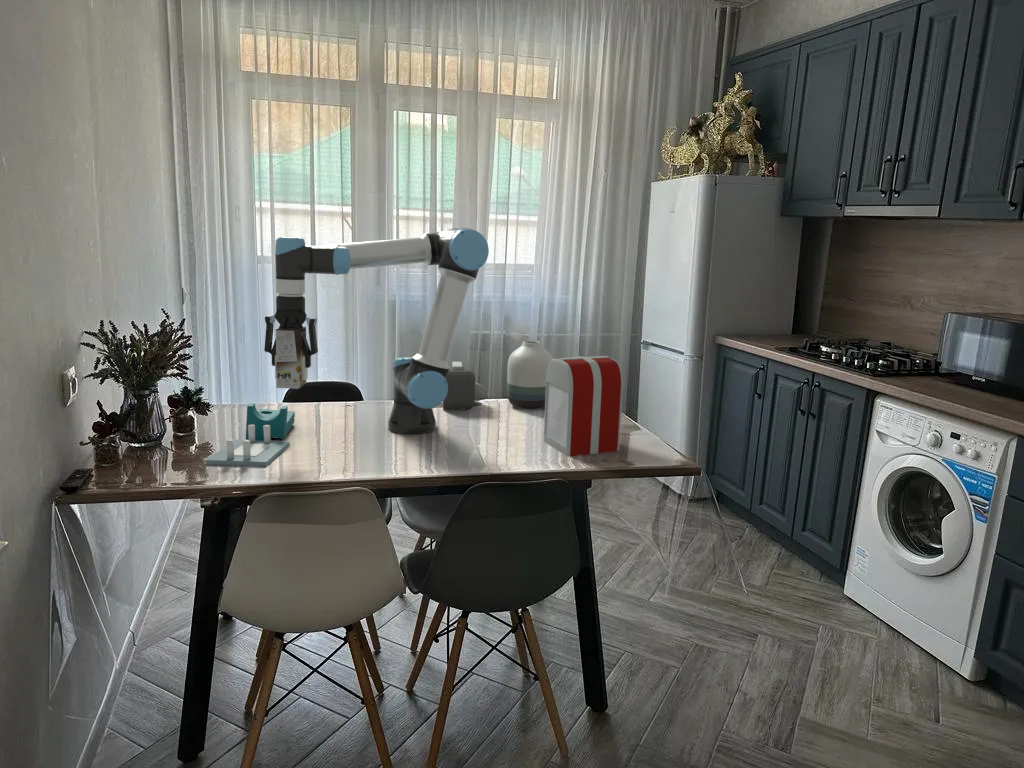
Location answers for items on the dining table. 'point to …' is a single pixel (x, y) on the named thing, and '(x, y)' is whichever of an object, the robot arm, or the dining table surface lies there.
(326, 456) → the dining table surface
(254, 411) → the teal cradle block
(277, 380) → the coffee box
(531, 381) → the vase
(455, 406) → the alarm clock
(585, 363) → the red white rounded block
